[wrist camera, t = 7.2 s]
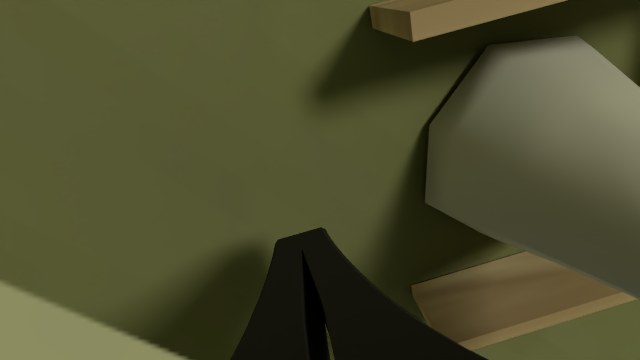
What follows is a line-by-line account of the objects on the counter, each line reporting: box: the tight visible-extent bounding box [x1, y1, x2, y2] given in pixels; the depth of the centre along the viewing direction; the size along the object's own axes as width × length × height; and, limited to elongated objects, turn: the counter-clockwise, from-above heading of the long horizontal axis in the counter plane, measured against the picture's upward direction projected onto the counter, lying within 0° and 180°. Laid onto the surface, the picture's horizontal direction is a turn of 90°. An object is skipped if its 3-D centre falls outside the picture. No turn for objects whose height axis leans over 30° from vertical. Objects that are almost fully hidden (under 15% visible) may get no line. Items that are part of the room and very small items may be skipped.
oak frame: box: [369, 0, 637, 350], centre depth 12 cm, size 11×11×3 cm
